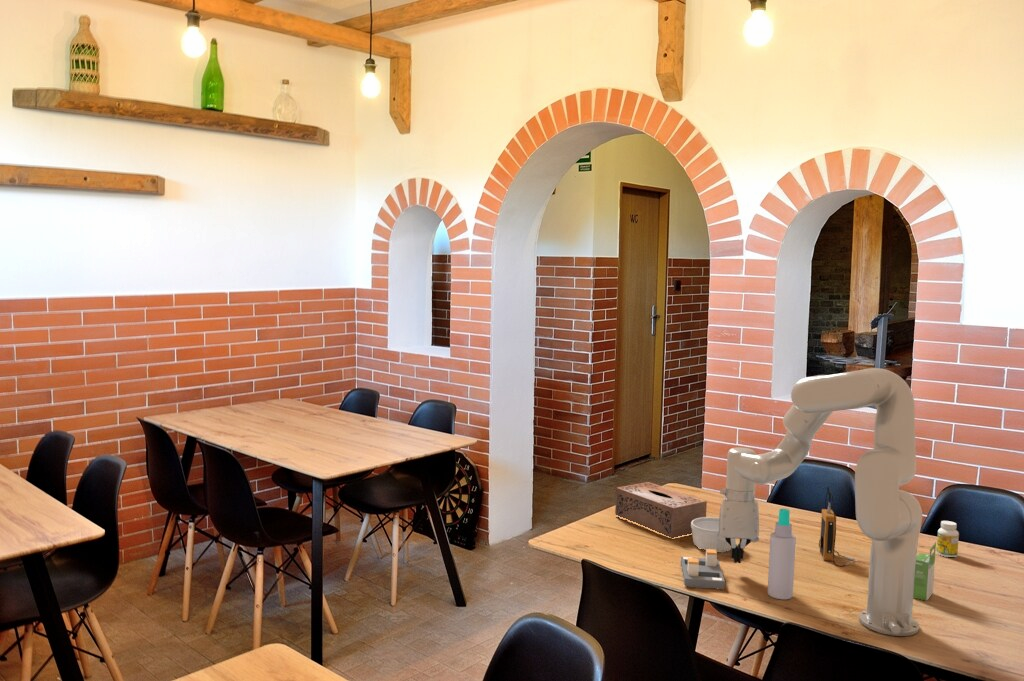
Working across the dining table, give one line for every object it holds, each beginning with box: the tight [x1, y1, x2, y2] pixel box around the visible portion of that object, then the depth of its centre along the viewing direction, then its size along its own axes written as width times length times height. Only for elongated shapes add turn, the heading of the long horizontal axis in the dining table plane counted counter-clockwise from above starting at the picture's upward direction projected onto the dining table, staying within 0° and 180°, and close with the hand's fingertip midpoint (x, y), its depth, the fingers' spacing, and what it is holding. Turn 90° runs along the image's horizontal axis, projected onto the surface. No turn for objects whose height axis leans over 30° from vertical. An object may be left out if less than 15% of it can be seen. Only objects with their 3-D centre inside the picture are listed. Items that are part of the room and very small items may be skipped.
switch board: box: [680, 556, 726, 590], centre depth 217 cm, size 16×10×2 cm, turn 172°
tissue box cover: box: [614, 481, 708, 538], centre depth 260 cm, size 26×14×10 cm, turn 34°
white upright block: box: [687, 557, 699, 576], centre depth 213 cm, size 3×3×5 cm
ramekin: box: [691, 516, 731, 553], centre depth 240 cm, size 13×13×7 cm
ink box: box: [913, 541, 937, 602], centre depth 207 cm, size 7×4×13 cm, turn 141°
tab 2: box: [705, 549, 718, 566], centre depth 220 cm, size 3×3×5 cm
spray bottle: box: [767, 508, 797, 600], centre depth 204 cm, size 6×6×22 cm
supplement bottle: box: [936, 520, 960, 558], centre depth 237 cm, size 5×5×10 cm
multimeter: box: [818, 486, 861, 567], centre depth 232 cm, size 15×10×20 cm
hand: (736, 561), depth 219 cm, fingers closed
